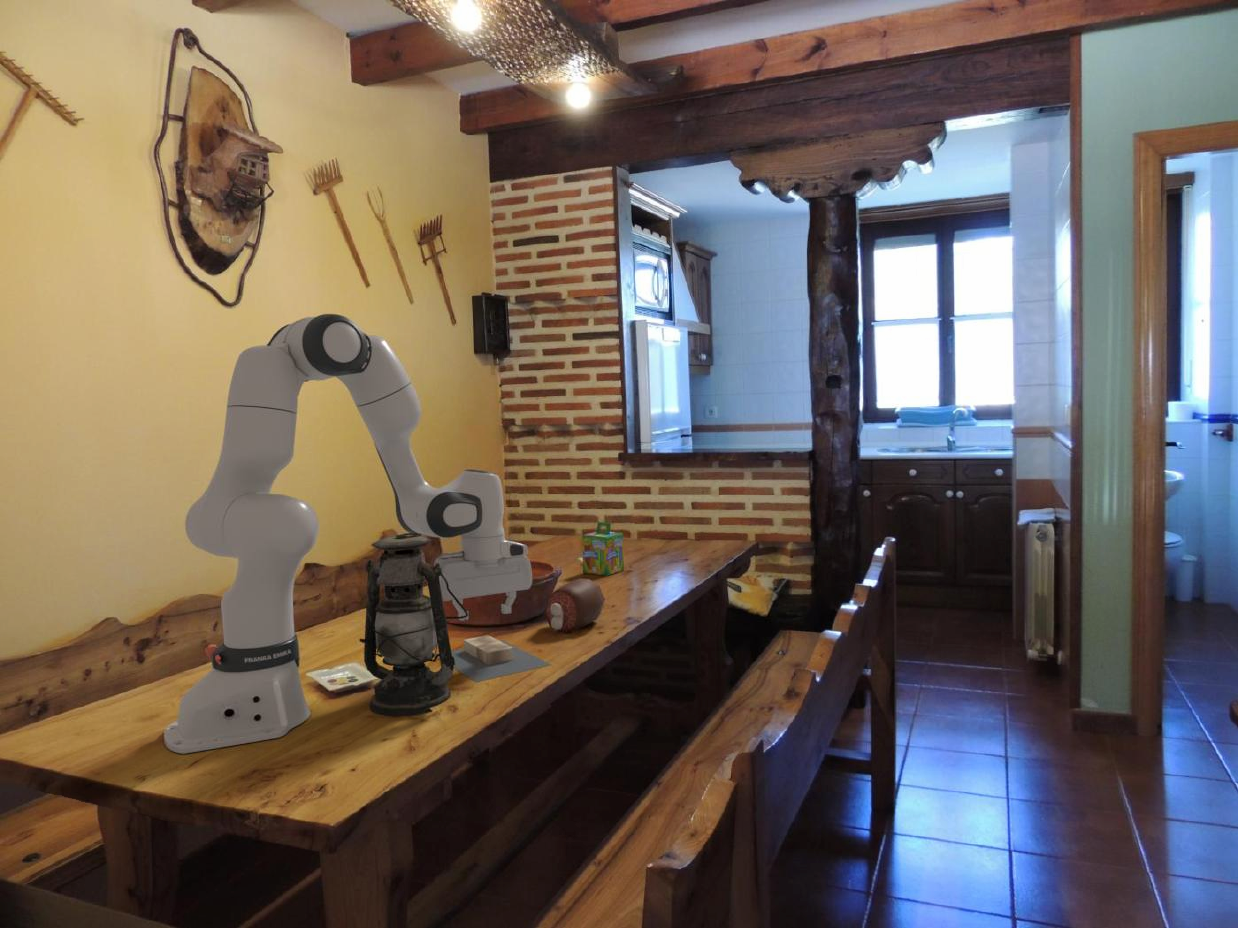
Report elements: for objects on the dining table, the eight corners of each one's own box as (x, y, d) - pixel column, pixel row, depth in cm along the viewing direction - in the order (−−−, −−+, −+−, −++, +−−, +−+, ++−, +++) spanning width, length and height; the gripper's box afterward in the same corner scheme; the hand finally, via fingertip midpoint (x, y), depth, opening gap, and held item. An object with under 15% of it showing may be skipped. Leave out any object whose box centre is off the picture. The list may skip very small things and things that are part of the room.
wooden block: (487, 652, 174) (463, 639, 184) (488, 664, 174) (464, 650, 184) (512, 647, 177) (487, 634, 187) (513, 659, 177) (488, 645, 187)
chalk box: (582, 573, 260) (580, 524, 259) (600, 567, 268) (598, 519, 267) (607, 576, 255) (605, 526, 254) (625, 570, 262) (623, 521, 261)
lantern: (340, 710, 153) (329, 540, 151) (405, 675, 171) (396, 523, 168) (432, 721, 146) (422, 543, 144) (489, 684, 164) (481, 525, 162)
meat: (578, 641, 191) (576, 595, 190) (532, 637, 196) (529, 592, 194) (616, 616, 209) (614, 574, 208) (573, 613, 214) (571, 572, 213)
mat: (476, 685, 164) (476, 682, 164) (432, 657, 182) (432, 654, 182) (551, 667, 172) (551, 664, 172) (503, 642, 191) (502, 640, 191)
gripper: (440, 556, 170) (442, 627, 171) (534, 545, 181) (536, 612, 182) (428, 552, 175) (430, 620, 176) (521, 542, 186) (523, 606, 187)
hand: (485, 616), depth 179 cm, fingers open, 8 cm apart
